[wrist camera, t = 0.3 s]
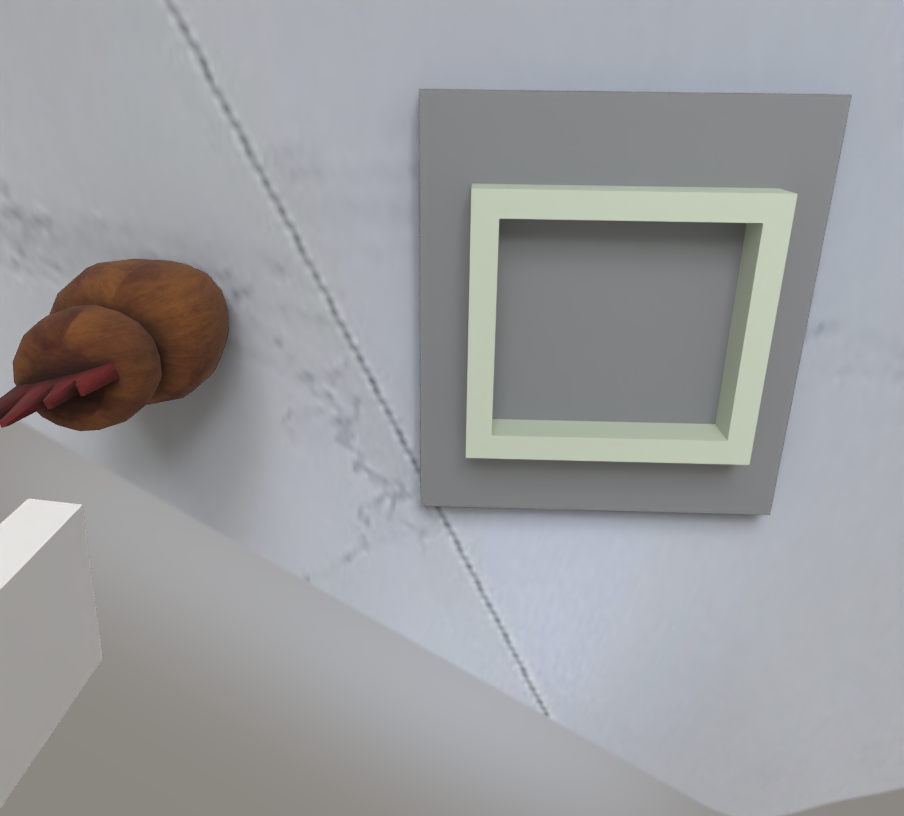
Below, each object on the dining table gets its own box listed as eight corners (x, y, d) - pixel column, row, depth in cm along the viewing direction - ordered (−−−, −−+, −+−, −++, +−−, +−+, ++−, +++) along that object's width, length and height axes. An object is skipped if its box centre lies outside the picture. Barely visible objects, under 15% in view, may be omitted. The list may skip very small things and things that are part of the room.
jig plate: (421, 89, 34) (415, 88, 30) (836, 94, 33) (874, 94, 30) (422, 491, 41) (417, 525, 38) (759, 500, 41) (784, 535, 37)
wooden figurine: (113, 353, 39) (-91, 497, 25) (107, 238, 36) (-122, 326, 23) (246, 369, 39) (117, 521, 25) (248, 256, 37) (107, 353, 23)
